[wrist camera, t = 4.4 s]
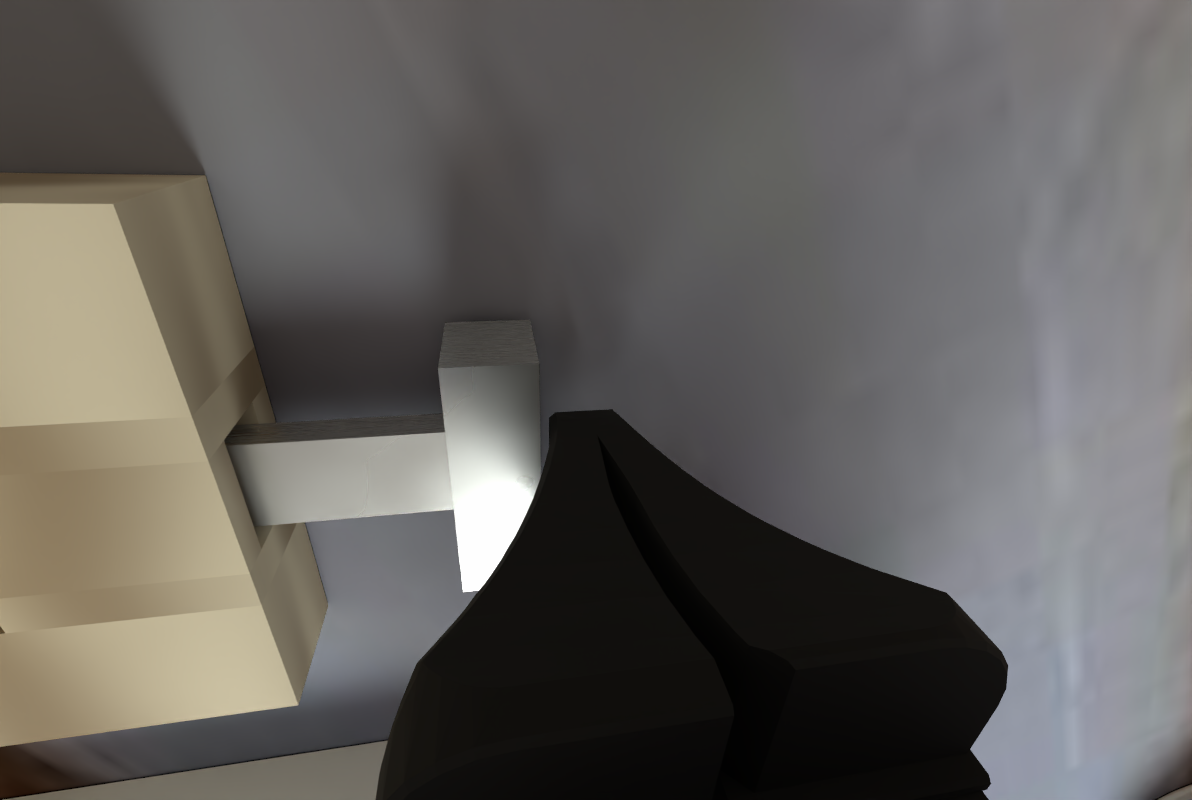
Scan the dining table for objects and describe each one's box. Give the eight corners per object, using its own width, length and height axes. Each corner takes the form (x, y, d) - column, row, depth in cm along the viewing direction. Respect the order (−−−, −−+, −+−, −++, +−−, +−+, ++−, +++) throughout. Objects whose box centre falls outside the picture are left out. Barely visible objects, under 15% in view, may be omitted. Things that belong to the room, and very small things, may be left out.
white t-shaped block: (530, 320, 11) (538, 363, 9) (535, 518, 13) (542, 582, 11) (82, 333, 9) (-7, 387, 8) (179, 550, 12) (127, 628, 10)
